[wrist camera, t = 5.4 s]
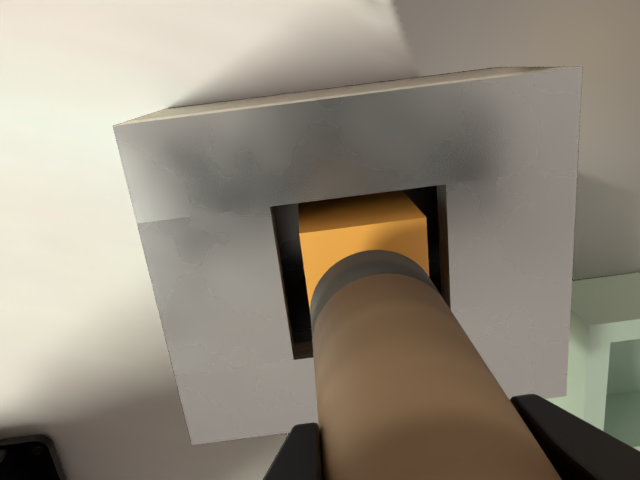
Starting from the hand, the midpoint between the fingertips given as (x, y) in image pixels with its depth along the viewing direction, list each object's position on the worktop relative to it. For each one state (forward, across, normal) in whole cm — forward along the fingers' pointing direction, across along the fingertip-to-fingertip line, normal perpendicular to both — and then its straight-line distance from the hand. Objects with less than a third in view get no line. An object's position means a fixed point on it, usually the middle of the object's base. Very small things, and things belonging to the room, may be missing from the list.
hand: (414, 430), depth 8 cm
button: (+9, 0, 0) cm, 9 cm away
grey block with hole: (+12, 0, 0) cm, 12 cm away
